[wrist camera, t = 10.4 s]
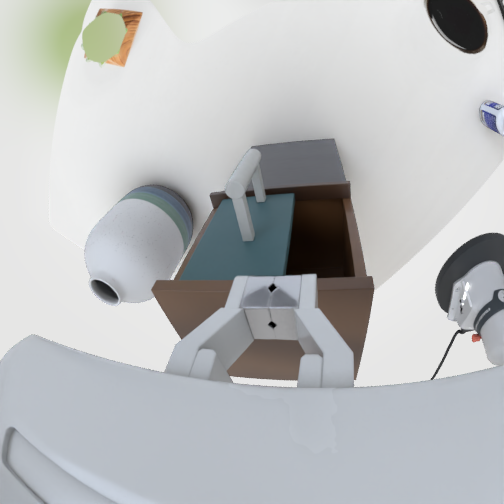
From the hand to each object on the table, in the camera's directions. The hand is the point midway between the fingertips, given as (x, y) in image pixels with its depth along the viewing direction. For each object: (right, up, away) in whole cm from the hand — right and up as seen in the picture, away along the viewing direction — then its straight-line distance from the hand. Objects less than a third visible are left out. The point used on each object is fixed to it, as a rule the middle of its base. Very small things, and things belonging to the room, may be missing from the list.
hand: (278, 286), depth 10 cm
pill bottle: (+41, +26, +20) cm, 52 cm away
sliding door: (-1, +8, +15) cm, 17 cm away
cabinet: (+7, +16, +36) cm, 40 cm away
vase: (-20, +10, +48) cm, 52 cm away
